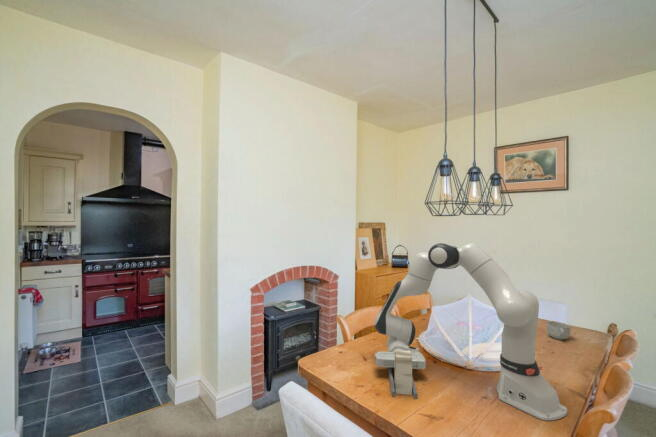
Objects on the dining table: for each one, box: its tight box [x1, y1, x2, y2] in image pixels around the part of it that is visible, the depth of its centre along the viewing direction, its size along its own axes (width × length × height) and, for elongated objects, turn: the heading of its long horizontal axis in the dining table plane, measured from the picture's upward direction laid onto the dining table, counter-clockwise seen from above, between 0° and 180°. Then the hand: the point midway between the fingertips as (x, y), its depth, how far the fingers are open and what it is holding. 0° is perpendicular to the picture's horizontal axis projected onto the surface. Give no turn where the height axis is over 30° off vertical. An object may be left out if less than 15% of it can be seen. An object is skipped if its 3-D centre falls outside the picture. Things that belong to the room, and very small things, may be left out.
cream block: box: [393, 350, 413, 396], centre depth 121 cm, size 6×6×14 cm
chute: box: [387, 367, 418, 400], centre depth 127 cm, size 22×10×3 cm, turn 173°
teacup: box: [546, 320, 572, 341], centre depth 176 cm, size 14×11×8 cm
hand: (402, 369), depth 124 cm, fingers closed, pressing on cream block
